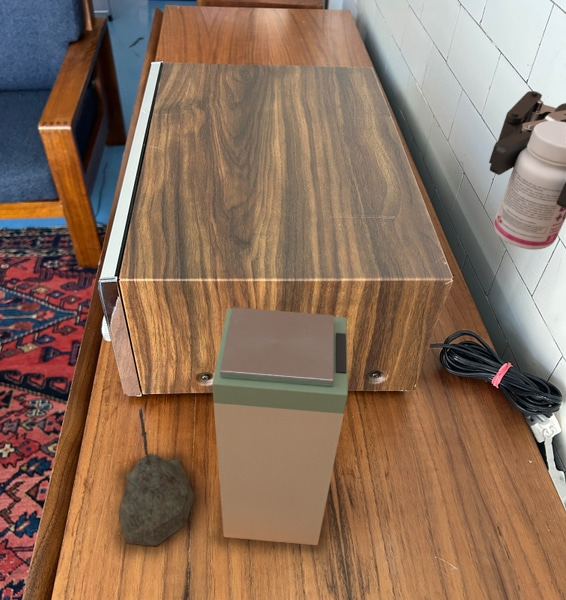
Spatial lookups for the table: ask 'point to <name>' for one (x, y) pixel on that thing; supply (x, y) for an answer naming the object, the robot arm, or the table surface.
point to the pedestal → (275, 471)
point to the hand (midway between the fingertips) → (530, 177)
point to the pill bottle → (535, 190)
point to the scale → (282, 361)
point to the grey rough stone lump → (154, 499)
